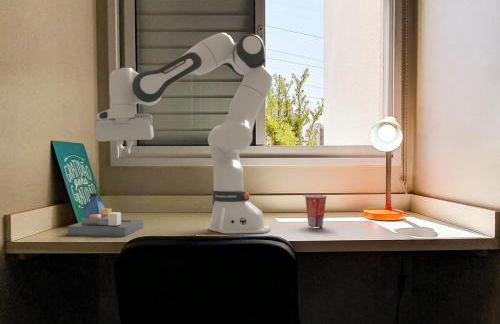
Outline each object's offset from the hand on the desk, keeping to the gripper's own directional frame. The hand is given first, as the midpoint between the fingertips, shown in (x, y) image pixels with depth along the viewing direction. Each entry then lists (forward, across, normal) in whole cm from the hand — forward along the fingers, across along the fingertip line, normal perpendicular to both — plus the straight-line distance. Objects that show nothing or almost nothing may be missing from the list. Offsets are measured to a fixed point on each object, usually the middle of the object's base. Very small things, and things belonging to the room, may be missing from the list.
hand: (125, 153), depth 130 cm
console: (+27, +7, +1) cm, 28 cm away
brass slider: (+24, +10, -3) cm, 26 cm away
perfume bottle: (+27, +20, -14) cm, 37 cm away
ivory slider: (+24, +2, +6) cm, 25 cm away
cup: (+31, -66, -15) cm, 75 cm away
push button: (+24, +11, +2) cm, 26 cm away
